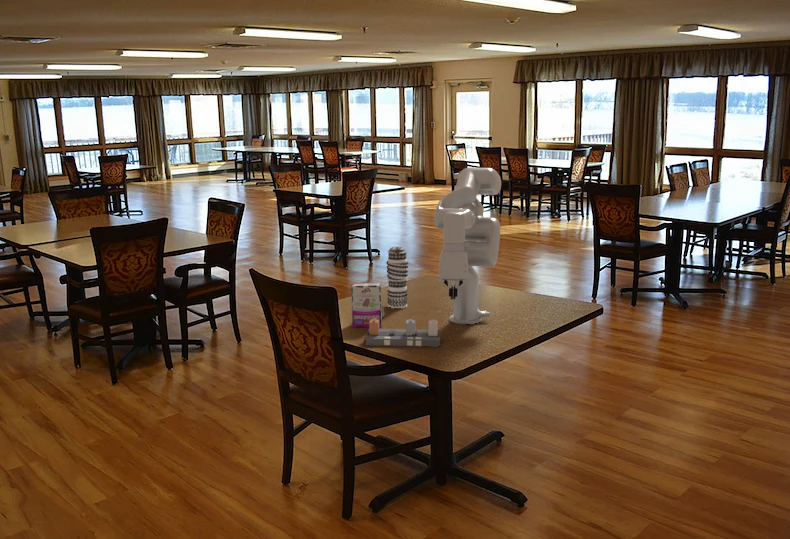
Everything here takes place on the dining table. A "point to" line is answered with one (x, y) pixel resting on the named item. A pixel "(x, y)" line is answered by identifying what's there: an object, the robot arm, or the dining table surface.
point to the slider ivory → (433, 328)
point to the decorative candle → (397, 277)
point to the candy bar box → (366, 303)
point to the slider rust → (374, 327)
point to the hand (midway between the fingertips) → (453, 298)
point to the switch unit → (402, 338)
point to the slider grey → (410, 327)
